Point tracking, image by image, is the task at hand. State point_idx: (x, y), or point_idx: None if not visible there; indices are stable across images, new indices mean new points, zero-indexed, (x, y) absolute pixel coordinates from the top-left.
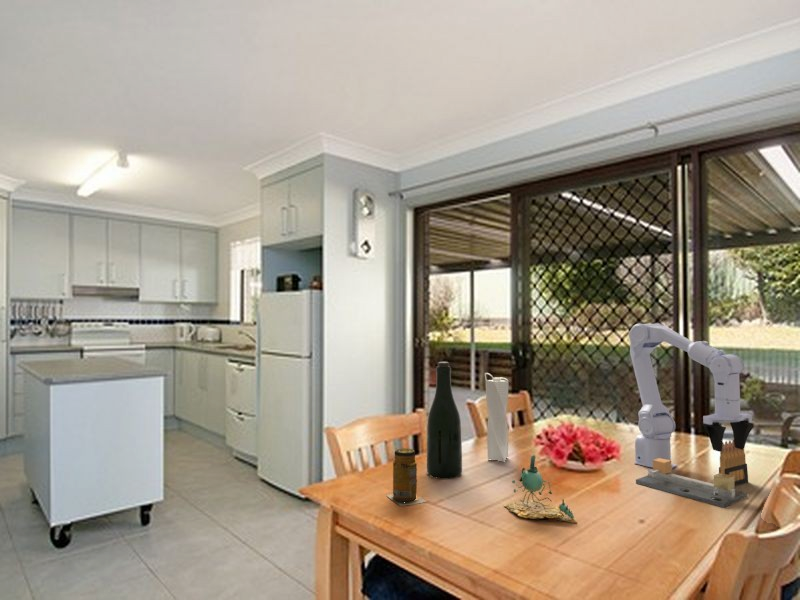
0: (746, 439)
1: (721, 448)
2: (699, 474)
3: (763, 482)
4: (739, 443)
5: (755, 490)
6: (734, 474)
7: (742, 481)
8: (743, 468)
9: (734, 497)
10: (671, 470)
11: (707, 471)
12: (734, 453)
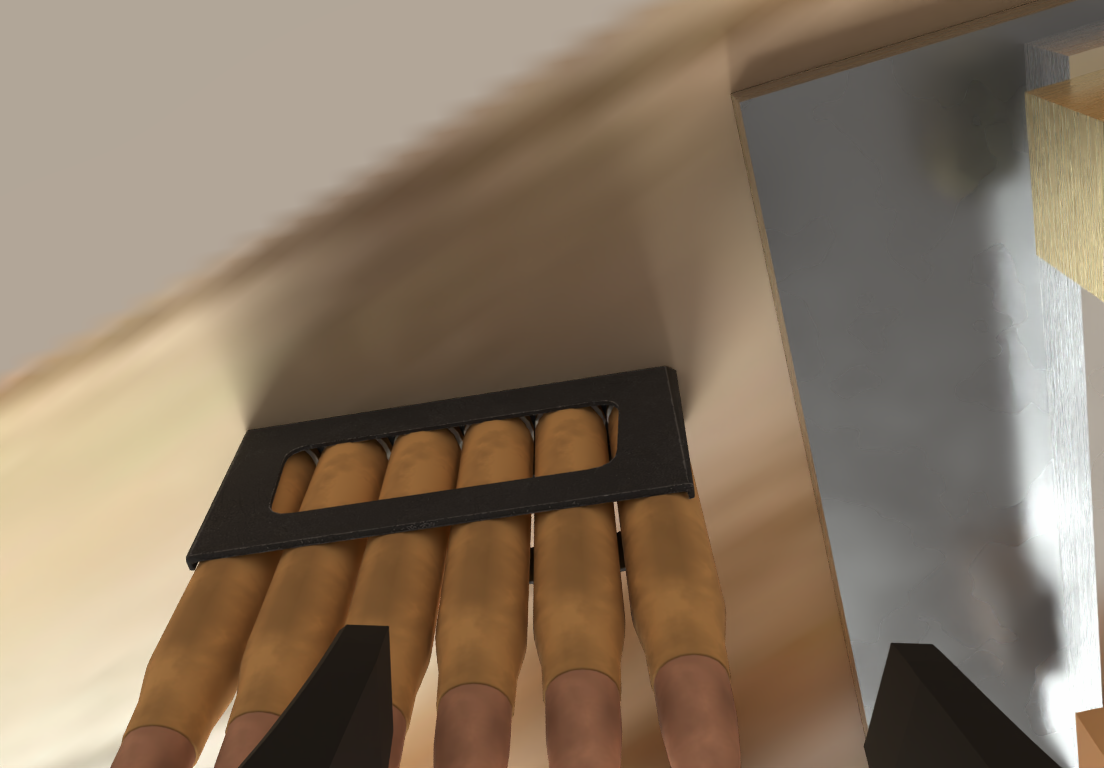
0: (264, 751)
1: (932, 674)
2: (520, 716)
3: (79, 380)
4: (370, 746)
5: (418, 220)
6: (490, 463)
7: (355, 426)
8: (286, 515)
9: (1068, 20)
10: (1080, 722)
11: None
12: (401, 669)
